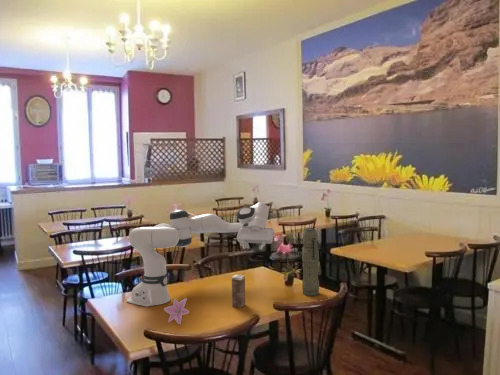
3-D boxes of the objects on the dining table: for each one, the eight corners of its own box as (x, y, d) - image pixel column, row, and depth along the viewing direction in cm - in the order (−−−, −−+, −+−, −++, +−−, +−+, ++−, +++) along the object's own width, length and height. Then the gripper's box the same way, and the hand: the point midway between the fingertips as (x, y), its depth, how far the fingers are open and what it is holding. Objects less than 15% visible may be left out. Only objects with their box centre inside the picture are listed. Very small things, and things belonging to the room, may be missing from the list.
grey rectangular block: (232, 306, 215) (231, 277, 214) (236, 303, 220) (235, 274, 219) (241, 307, 214) (241, 278, 213) (245, 304, 218) (244, 275, 217)
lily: (163, 319, 203) (158, 305, 198) (183, 305, 209) (179, 291, 204) (177, 334, 195) (172, 320, 190) (198, 318, 201) (194, 304, 196)
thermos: (310, 289, 241) (310, 226, 238) (324, 294, 231) (323, 229, 228) (297, 291, 237) (296, 228, 234) (310, 297, 226) (310, 231, 224)
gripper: (276, 231, 243) (271, 252, 235) (242, 230, 250) (236, 250, 241) (273, 225, 239) (269, 246, 230) (239, 224, 245) (233, 244, 237)
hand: (252, 248), depth 236 cm, fingers open, 8 cm apart
